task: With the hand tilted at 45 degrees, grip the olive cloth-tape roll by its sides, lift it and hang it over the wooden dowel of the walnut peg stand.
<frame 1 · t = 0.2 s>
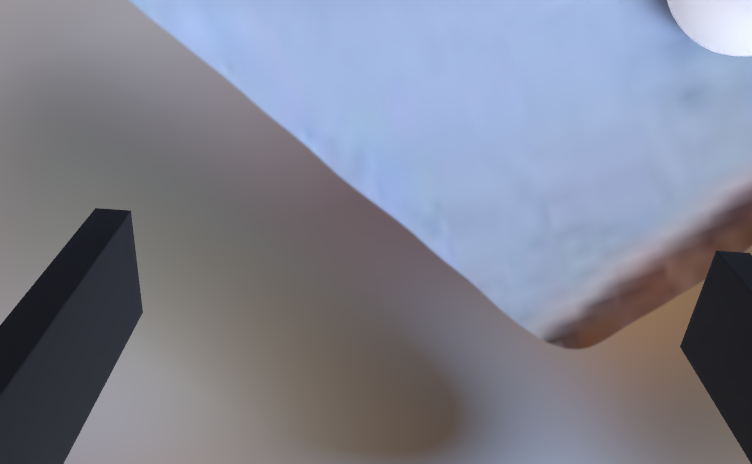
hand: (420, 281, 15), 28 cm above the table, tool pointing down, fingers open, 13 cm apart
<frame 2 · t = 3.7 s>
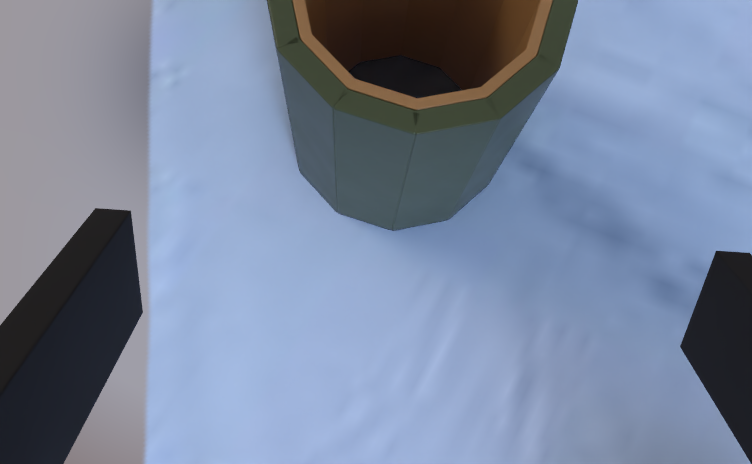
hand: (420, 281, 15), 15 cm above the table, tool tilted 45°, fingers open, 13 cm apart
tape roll: (396, 128, 32), on the table
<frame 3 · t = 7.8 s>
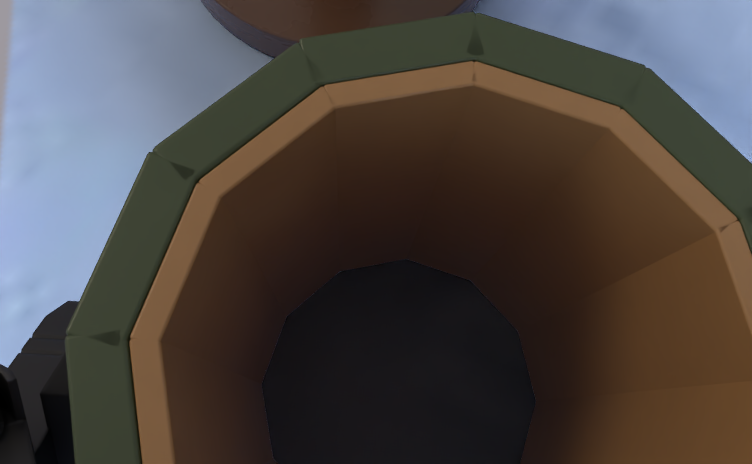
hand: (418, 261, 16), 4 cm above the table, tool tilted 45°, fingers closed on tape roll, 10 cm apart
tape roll: (399, 392, 19), on the table, touching gripper
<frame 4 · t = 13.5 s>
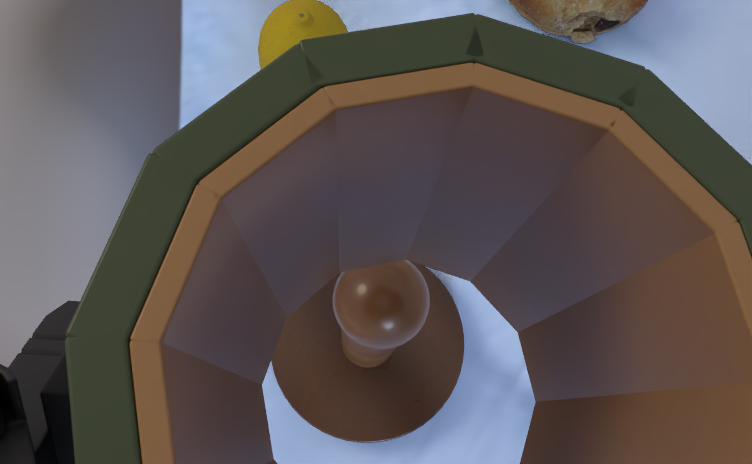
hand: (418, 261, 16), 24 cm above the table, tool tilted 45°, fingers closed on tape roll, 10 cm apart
lemon: (309, 88, 44), on the table
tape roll: (399, 393, 19), point 20 cm above the table, touching gripper
peg stand: (366, 343, 39), on the table
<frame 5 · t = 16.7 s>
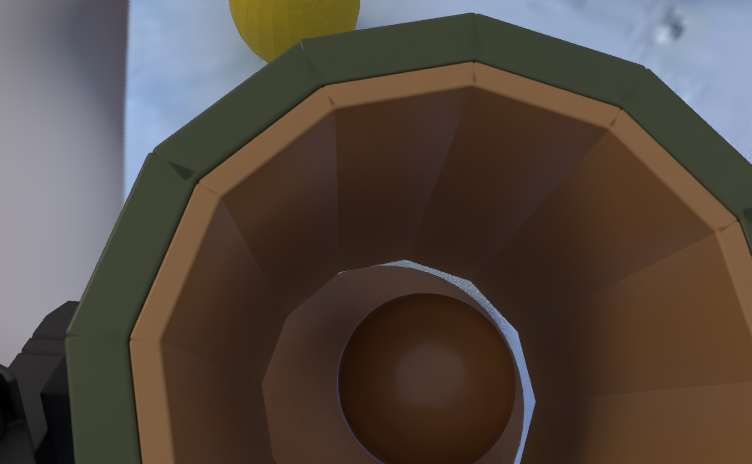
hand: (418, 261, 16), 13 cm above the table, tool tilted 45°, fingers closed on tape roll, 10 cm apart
lemon: (301, 50, 32), on the table
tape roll: (399, 393, 19), point 9 cm above the table, touching gripper
peg stand: (385, 401, 28), on the table
when the fingers open (6 cm above the table, at t = 19.4 s): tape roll stays where it is, resting on peg stand.
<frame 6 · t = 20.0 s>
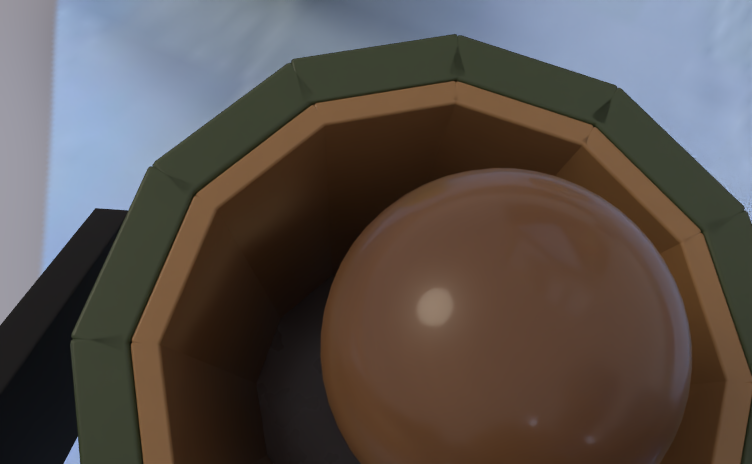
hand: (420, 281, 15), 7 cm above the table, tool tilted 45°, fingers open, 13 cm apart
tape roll: (389, 392, 20), point 1 cm above the table, touching peg stand
peg stand: (389, 394, 21), on the table
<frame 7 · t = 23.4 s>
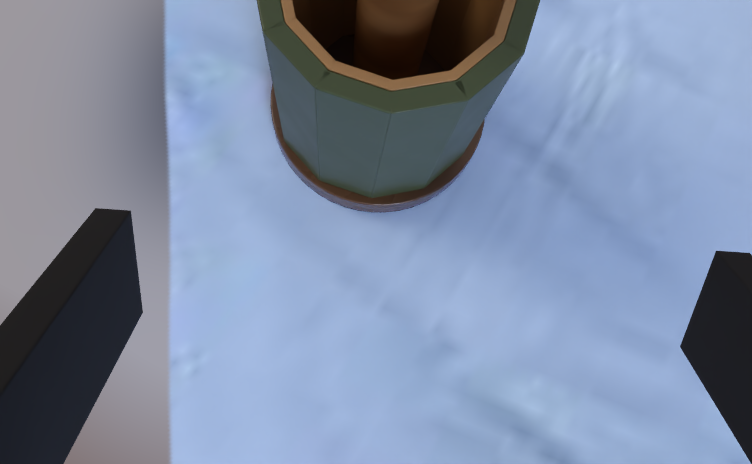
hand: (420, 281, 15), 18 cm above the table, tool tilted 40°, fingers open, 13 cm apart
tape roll: (376, 100, 34), point 1 cm above the table, touching peg stand
peg stand: (377, 112, 36), on the table
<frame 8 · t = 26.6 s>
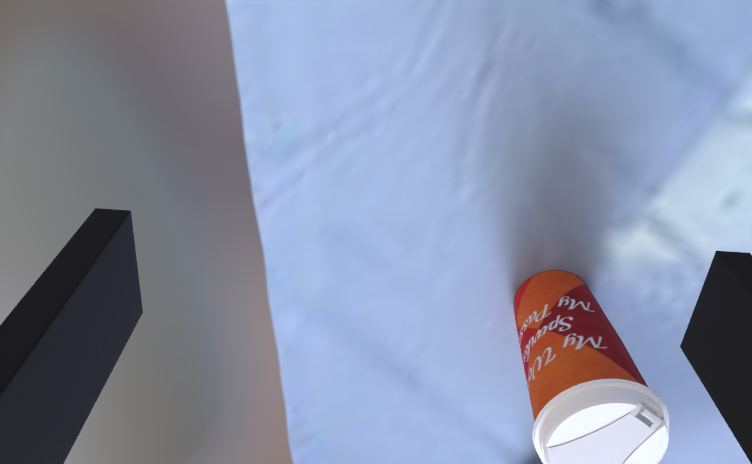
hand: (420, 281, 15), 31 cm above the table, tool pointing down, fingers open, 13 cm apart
coffee cup: (550, 300, 53), on the table
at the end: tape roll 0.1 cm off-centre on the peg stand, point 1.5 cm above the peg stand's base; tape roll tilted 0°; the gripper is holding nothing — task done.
